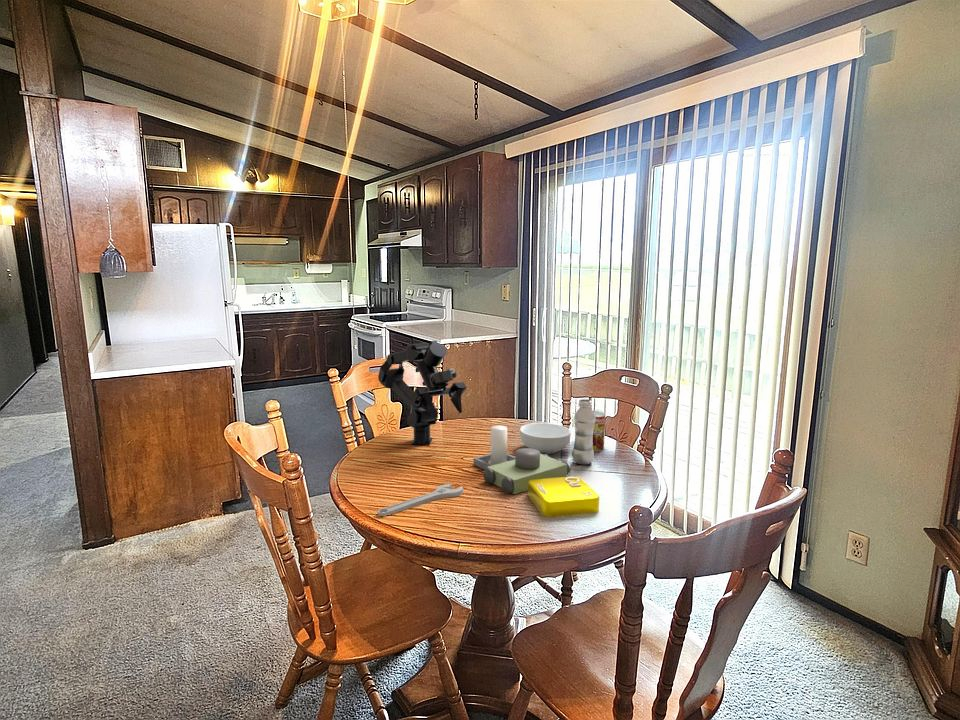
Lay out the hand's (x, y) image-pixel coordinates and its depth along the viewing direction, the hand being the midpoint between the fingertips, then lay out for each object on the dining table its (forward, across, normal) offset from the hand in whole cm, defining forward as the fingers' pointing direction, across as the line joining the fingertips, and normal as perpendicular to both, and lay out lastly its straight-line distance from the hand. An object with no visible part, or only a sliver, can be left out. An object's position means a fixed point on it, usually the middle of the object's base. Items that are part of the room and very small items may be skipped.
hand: (449, 414), depth 173 cm
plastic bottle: (+31, +30, -12) cm, 44 cm away
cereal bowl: (+20, +29, 0) cm, 35 cm away
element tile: (+43, +4, -23) cm, 49 cm away
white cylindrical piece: (+21, +7, -2) cm, 22 cm away
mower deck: (+26, +7, -7) cm, 28 cm away
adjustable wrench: (+27, -25, -7) cm, 38 cm away
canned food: (+25, +43, -6) cm, 50 cm away
